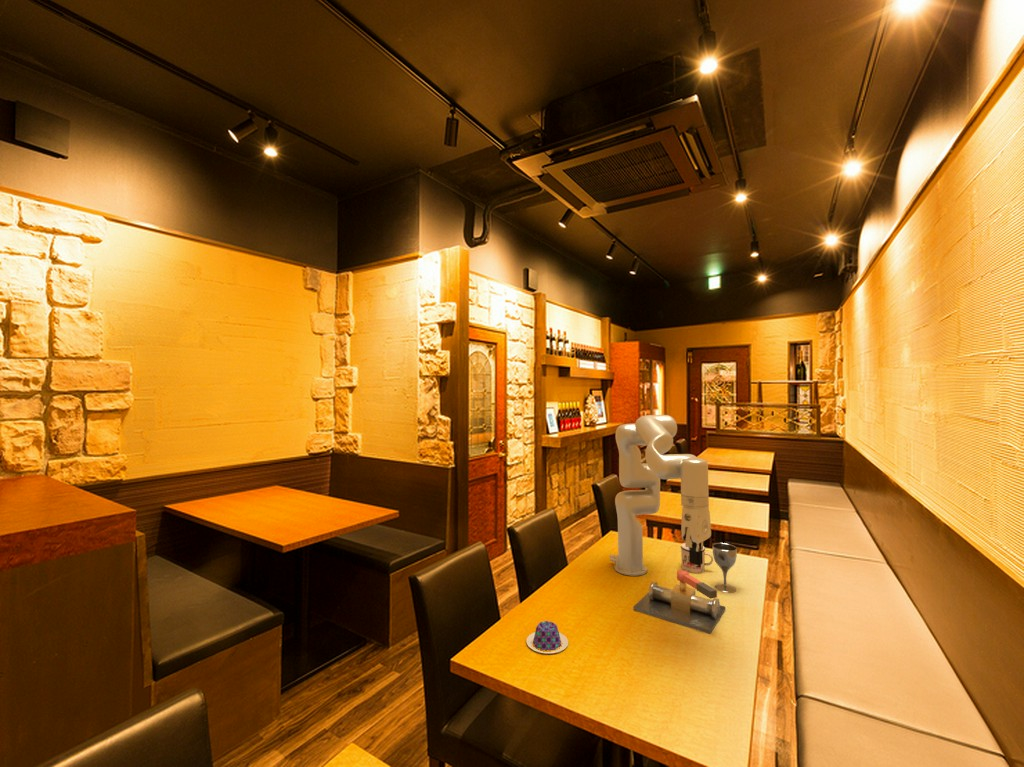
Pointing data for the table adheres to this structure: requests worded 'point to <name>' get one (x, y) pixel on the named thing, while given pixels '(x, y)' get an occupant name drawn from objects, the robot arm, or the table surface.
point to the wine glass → (724, 563)
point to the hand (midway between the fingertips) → (696, 563)
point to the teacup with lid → (689, 566)
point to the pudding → (547, 638)
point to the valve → (681, 607)
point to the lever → (696, 584)
